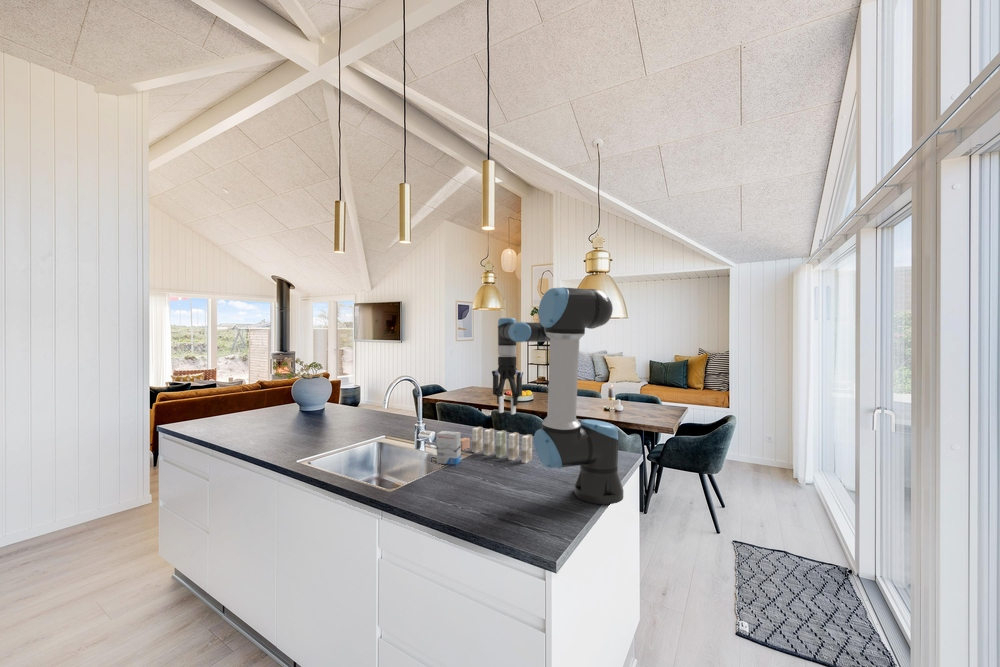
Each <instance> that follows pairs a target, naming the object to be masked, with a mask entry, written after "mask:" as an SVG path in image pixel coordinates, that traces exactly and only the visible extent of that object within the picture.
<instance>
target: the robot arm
mask: <svg viewBox="0 0 1000 667" xmlns="http://www.w3.org/2000/svg"><path fill="white" fill-rule="evenodd" d="M613 308H614V307H613V303H612V301H611V299H610V298H609V296H608V295H607V294H606V293H605V292H603V291H601V290H599V289H596V288H595V289H594V288H578V287H554V288H553V287H552V288H549V289H548V290H546V292H544V294H543V296H542V298H541V299H540V302H539V306H538V310H537V312H538V313H537V314H538V316H537V317H538V320H539V322H527V321H526V322H523V321H517V319H516V318H514V317H501V318H498V321H497V322H498V323H497V355H498V356H497V365H498V367H497V369H496V370H492V371H491V375H492V395H494V396H496V401H497V402H496V403H497V405H498V413H499V414H503V413H504V412H505V409H504V407H505V405H504V403H505V401H504V400H505V398H504V395H503V392H504V388H505V384H506V380H508V382H509V387H510V391H511V395H512V396H511V397H510V415H515V414H517V406H518V404H519V402H518V400H519V399H518V398H520V397H522V396H523V375H524V372H523V371H519V370H518V369H517V357H516V355H517V343H523V342H525V343H529V342H531V343H532V342H535V343H536V342H544V343H545V342H548V343H550V344H549V362H548V364H549V365H548V367H549V368H548V389H547V391H548V392H547V416H546V417H545V418H544V419H542V422H541V428H539V429H537V430H536V431H535V433H534V434H533V435H534V436H533V440H534V441H533V444H534V450H535V453H536V456H537V458H538V460H539V462H540V463H541V465H542V466H544V467H545V468H546V469H549V470H550V469H551V470H552V469H562V468H569V467H570V468H571V467H576V466H579V471H578V473H577V474H578V475H577V477H576V479H575V483H574V491H573V492H574V496H575V497H577V498H578V499H580V500H582V501H584V502H587V503H591V504H595V505H596V504H597V505H613V504H618V503H620V502H621V501H623V500H624V487H623V485H622V481H621V478H620V475H619V449H618V448H619V430H618V427H617V426H616V425H614V424H612V423H610V422H606V421H602V420H597V419H588V418H587V419H581V420H580V421H579V420H578V419H577V405H578V404H577V402H578V401H577V400H578V381H579V380H578V377H579V376H578V375H579V357H580V356H579V354H580V353H579V352H580V339H581V338H583V337H584V336H585V334H586V329H589V330H592V329H596V328H599V327H603V326H604V325H606V324H607V323H608V322H609V321H610V320H611V317H612V315H613V310H614V309H613ZM515 376H516V377H515Z"/></svg>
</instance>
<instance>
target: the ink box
mask: <svg viewBox="0 0 1000 667" xmlns="http://www.w3.org/2000/svg"><path fill="white" fill-rule="evenodd" d="M435 434H436V463H437V464H443V465H444V464H445V465H454V466H457V465H458V464H459V463H460V462H461V461H462V455H461V453H462V450H461V439H462V438H461V432H460V431H450V430H449V431H448V430H447V431H446V430H441V431H440V432H438V433H435Z"/></svg>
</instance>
